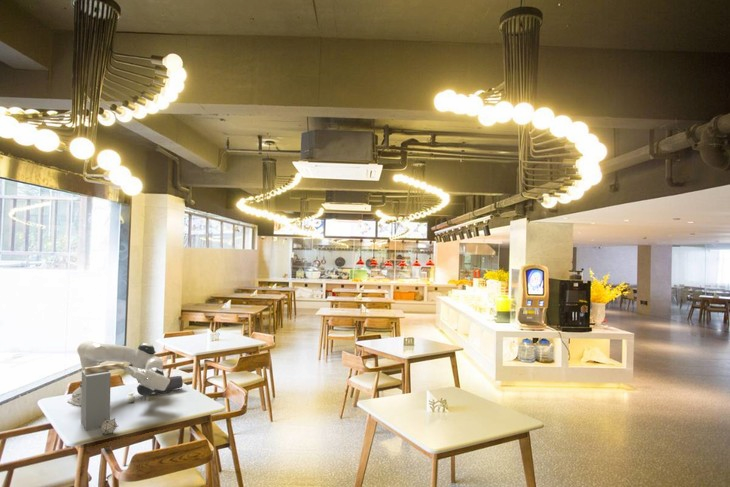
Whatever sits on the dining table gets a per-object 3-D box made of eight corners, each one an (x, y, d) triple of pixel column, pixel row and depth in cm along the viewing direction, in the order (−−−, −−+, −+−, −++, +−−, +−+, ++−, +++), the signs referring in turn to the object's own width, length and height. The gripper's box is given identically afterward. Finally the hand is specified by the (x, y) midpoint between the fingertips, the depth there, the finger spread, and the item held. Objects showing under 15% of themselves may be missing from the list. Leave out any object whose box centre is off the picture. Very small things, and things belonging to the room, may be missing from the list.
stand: (104, 417, 272) (105, 367, 273) (109, 425, 260) (110, 372, 261) (81, 422, 264) (81, 370, 265) (85, 430, 252) (86, 376, 253)
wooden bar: (123, 367, 273) (123, 362, 273) (124, 368, 271) (124, 363, 271) (84, 372, 260) (84, 367, 261) (85, 373, 258) (85, 368, 258)
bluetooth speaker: (149, 396, 312) (149, 382, 312) (145, 393, 319) (145, 379, 319) (183, 390, 327) (183, 376, 327) (178, 387, 334) (178, 373, 334)
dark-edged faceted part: (109, 441, 246) (104, 431, 240) (98, 434, 249) (93, 423, 243) (123, 429, 253) (119, 418, 247) (113, 421, 256) (109, 411, 250)
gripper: (146, 385, 270) (124, 377, 262) (137, 378, 286) (116, 370, 278) (151, 375, 272) (130, 366, 265) (143, 368, 288) (122, 360, 280)
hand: (123, 368), depth 271 cm, fingers open, 8 cm apart
